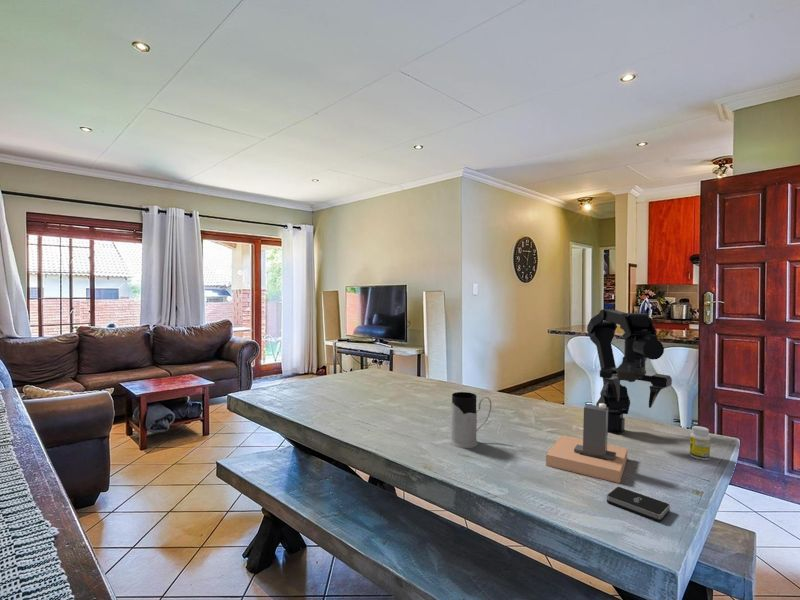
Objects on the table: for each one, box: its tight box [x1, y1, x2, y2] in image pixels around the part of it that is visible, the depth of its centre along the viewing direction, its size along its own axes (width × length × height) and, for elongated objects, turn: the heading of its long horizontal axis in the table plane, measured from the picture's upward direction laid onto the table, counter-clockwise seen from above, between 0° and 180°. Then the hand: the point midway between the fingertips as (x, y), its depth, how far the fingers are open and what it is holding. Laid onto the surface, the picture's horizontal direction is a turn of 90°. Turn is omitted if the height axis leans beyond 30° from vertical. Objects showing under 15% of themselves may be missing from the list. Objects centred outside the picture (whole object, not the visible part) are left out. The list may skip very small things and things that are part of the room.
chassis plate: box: [545, 434, 628, 484], centre depth 116 cm, size 18×18×3 cm
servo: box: [574, 403, 616, 460], centre depth 114 cm, size 10×4×17 cm, turn 56°
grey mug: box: [449, 391, 492, 449], centre depth 131 cm, size 9×14×15 cm, turn 111°
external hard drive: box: [606, 486, 671, 523], centre depth 93 cm, size 7×11×2 cm, turn 42°
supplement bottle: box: [689, 425, 711, 461], centre depth 121 cm, size 5×5×8 cm
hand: (633, 404), depth 128 cm, fingers open, 9 cm apart
